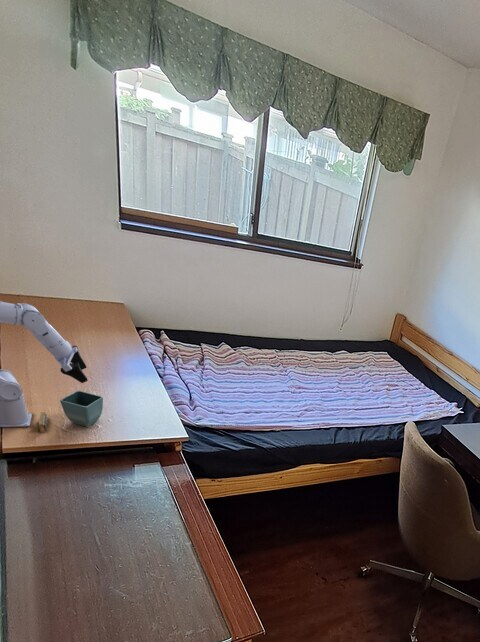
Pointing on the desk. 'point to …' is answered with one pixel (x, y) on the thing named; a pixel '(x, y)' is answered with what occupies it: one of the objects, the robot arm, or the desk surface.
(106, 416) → the desk surface
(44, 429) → the stop rail
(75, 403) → the flower pot
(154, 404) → the desk surface
